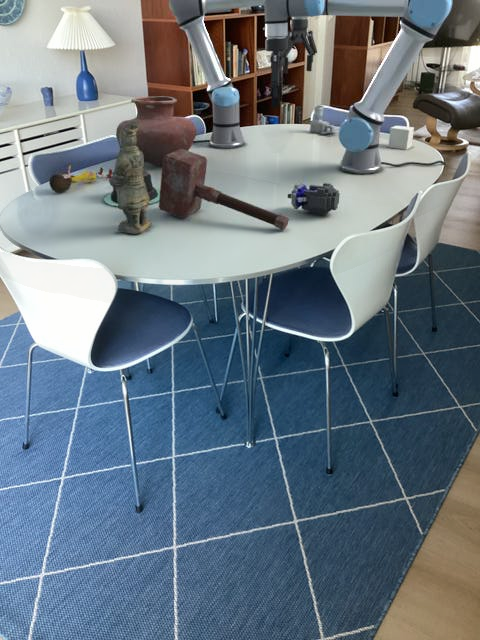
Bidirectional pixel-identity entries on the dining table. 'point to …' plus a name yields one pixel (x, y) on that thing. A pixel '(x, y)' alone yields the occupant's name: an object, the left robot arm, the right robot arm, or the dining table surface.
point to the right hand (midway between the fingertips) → (277, 104)
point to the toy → (315, 198)
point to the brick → (401, 137)
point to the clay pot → (160, 128)
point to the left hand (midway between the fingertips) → (297, 72)
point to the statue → (131, 182)
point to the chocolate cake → (152, 192)
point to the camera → (321, 123)
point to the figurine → (74, 179)
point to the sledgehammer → (200, 190)
